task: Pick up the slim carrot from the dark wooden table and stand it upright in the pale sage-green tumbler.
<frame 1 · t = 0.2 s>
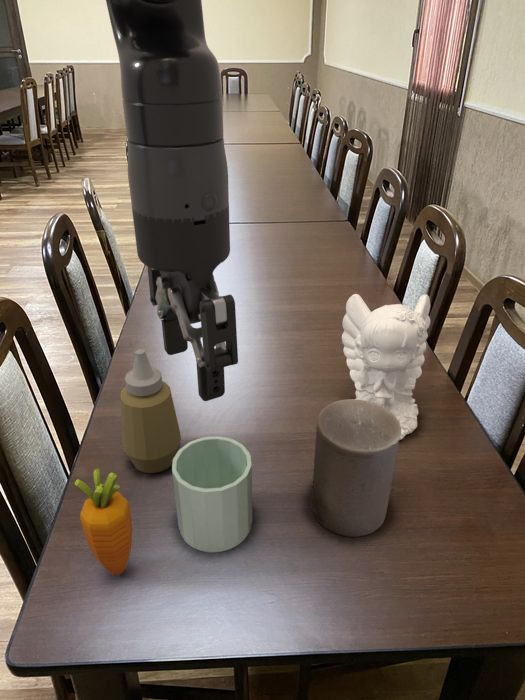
hand: (193, 373, 50), 25 cm above the table, tool pointing down, fingers open, 8 cm apart
carrot: (118, 574, 61), on the table
tumbler: (215, 522, 67), on the table
squeeze bottle: (154, 460, 76), on the table
cherub figurine: (375, 416, 85), on the table
pillar candle: (348, 507, 69), on the table
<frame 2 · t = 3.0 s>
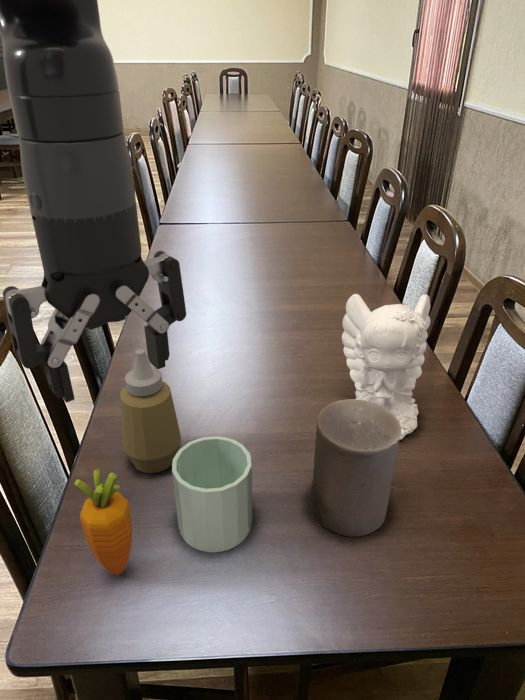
hand: (113, 380, 48), 26 cm above the table, tool pointing down, fingers open, 8 cm apart
nothing on the table moved.
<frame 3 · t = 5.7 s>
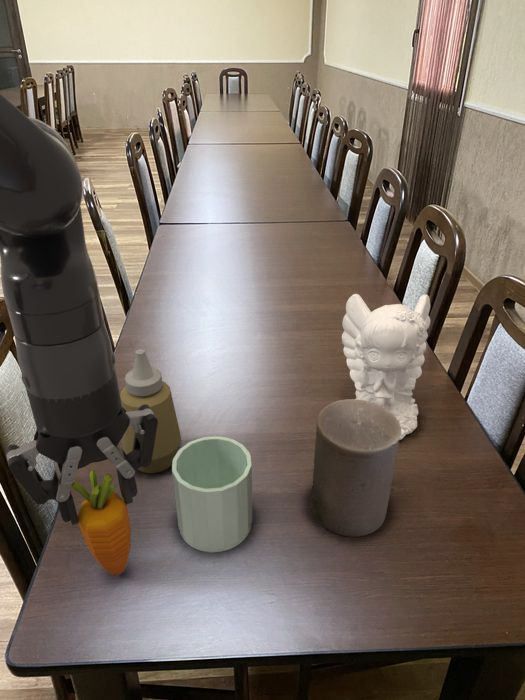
hand: (100, 507, 55), 10 cm above the table, tool pointing down, fingers closed on carrot, 5 cm apart
carrot: (118, 574, 61), on the table, touching gripper
everything else where it was.
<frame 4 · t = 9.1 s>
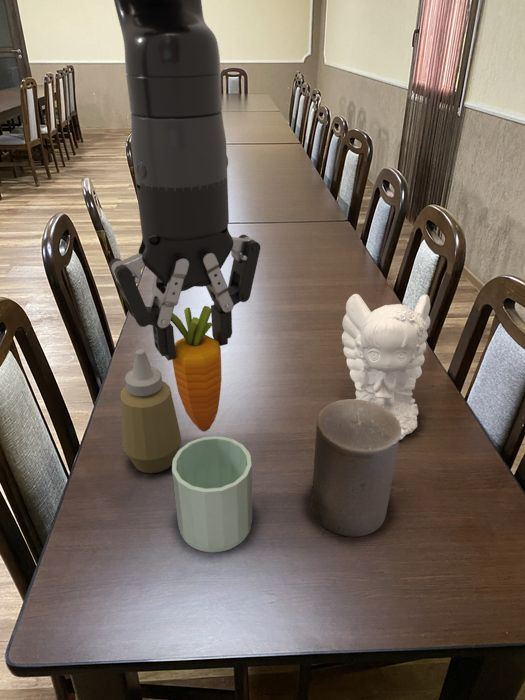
hand: (194, 348, 53), 26 cm above the table, tool pointing down, fingers closed on carrot, 5 cm apart
carrot: (204, 432, 58), point 15 cm above the table, touching gripper
everything else where it was.
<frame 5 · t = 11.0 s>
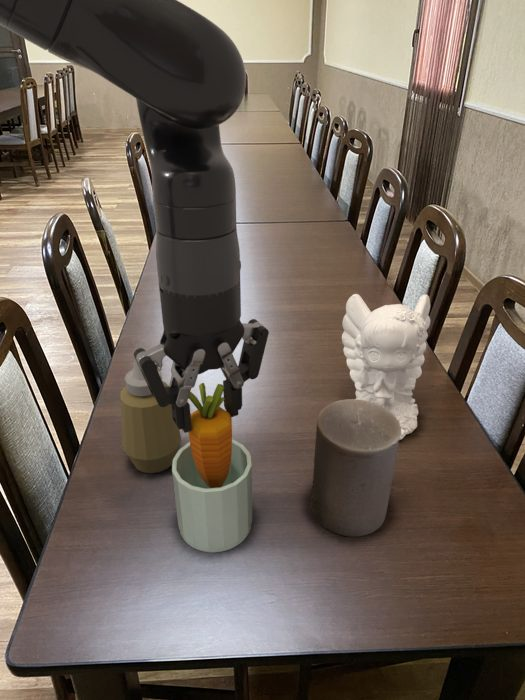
hand: (208, 419, 58), 16 cm above the table, tool pointing down, fingers closed on carrot, 5 cm apart
carrot: (216, 490, 64), point 6 cm above the table, touching gripper
everything else where it was.
when the fingers open (11 cm above the table, at t = 12.7 s): carrot stays where it is, resting on tumbler.
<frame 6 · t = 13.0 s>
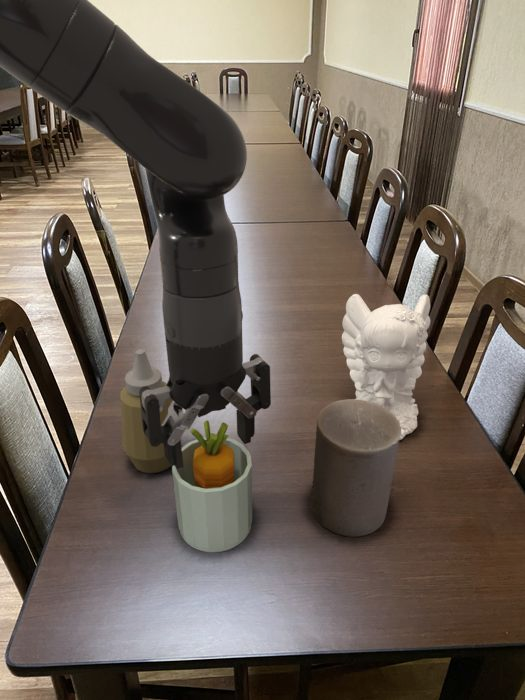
hand: (211, 451, 61), 12 cm above the table, tool pointing down, fingers open, 8 cm apart
carrot: (218, 521, 66), resting on tumbler
tumbler: (215, 522, 67), on the table, touching carrot
everything else where it was.
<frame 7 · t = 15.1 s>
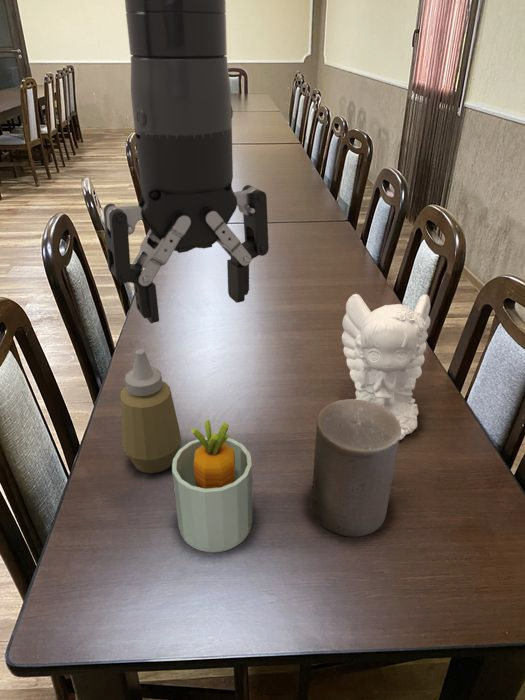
hand: (195, 308, 50), 30 cm above the table, tool pointing down, fingers open, 8 cm apart
nothing on the table moved.
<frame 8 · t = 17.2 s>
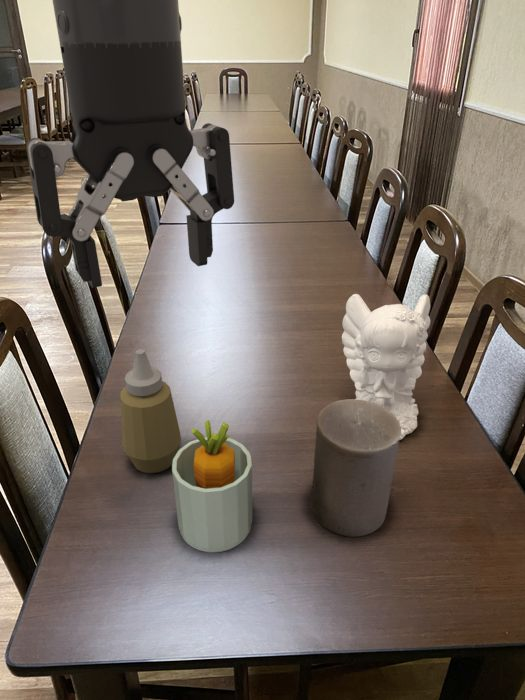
hand: (148, 272, 42), 36 cm above the table, tool pointing down, fingers open, 8 cm apart
nothing on the table moved.
at the end: carrot 0.4 cm off-centre in the tumbler, point 0.4 cm above the tumbler's base; carrot tilted 0°; the gripper is holding nothing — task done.
